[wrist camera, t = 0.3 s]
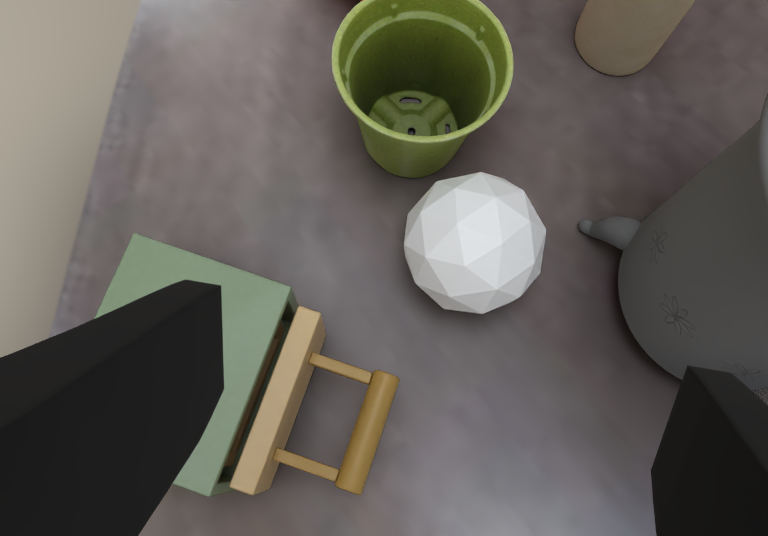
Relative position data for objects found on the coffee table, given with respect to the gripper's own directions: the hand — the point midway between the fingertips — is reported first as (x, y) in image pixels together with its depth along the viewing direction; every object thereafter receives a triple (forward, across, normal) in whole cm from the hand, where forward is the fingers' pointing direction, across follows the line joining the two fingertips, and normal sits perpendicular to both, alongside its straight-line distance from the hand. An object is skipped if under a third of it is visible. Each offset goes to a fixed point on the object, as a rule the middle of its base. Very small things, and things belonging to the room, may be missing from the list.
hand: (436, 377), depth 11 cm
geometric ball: (+29, 0, +13) cm, 32 cm away
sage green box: (+22, +14, +18) cm, 31 cm away
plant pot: (+34, +5, +7) cm, 35 cm away
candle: (+42, -7, +1) cm, 42 cm away
